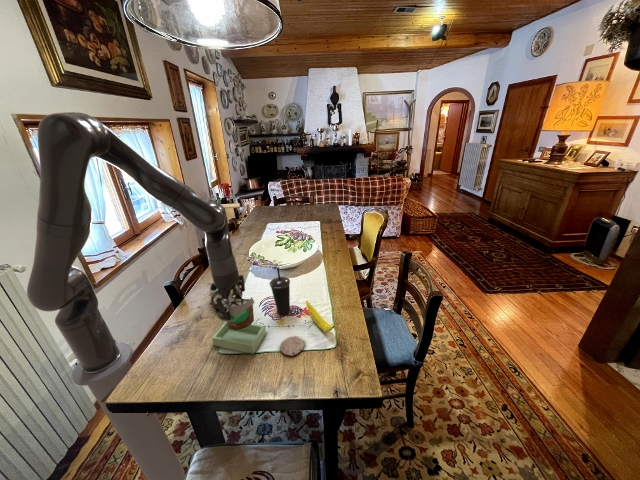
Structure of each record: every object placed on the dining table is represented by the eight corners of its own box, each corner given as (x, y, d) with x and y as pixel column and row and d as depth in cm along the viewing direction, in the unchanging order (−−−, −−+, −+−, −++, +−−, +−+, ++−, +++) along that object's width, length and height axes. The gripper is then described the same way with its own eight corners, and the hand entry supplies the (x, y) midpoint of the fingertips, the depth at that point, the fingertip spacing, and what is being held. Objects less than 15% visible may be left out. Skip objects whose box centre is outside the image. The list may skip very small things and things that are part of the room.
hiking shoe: (229, 325, 94) (224, 305, 90) (204, 302, 108) (199, 283, 104) (249, 313, 100) (245, 294, 96) (222, 293, 113) (218, 275, 110)
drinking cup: (276, 320, 96) (269, 275, 88) (272, 308, 103) (265, 265, 94) (295, 314, 99) (290, 270, 90) (290, 302, 105) (285, 260, 97)
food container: (215, 330, 83) (208, 306, 79) (224, 318, 89) (218, 294, 85) (250, 334, 81) (245, 309, 77) (258, 320, 87) (253, 297, 83)
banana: (310, 308, 101) (309, 295, 98) (338, 339, 86) (337, 324, 84) (303, 311, 100) (302, 298, 97) (331, 342, 85) (330, 328, 82)
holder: (214, 345, 86) (211, 337, 84) (229, 326, 94) (227, 319, 92) (253, 353, 82) (252, 345, 81) (266, 333, 90) (265, 325, 89)
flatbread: (286, 360, 79) (286, 358, 79) (276, 344, 85) (276, 342, 85) (309, 348, 83) (308, 346, 82) (298, 334, 89) (298, 332, 88)
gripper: (220, 283, 69) (231, 329, 76) (247, 258, 81) (255, 300, 88) (197, 280, 71) (210, 325, 78) (227, 256, 83) (236, 297, 90)
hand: (234, 312), depth 83 cm, fingers closed on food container, 6 cm apart
